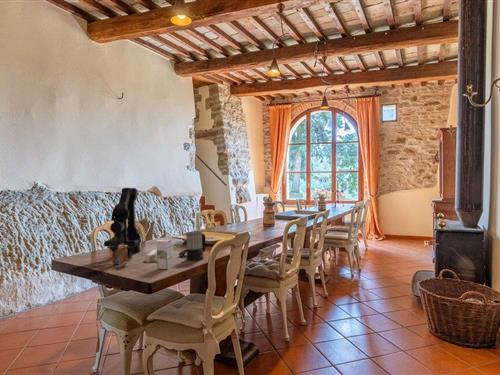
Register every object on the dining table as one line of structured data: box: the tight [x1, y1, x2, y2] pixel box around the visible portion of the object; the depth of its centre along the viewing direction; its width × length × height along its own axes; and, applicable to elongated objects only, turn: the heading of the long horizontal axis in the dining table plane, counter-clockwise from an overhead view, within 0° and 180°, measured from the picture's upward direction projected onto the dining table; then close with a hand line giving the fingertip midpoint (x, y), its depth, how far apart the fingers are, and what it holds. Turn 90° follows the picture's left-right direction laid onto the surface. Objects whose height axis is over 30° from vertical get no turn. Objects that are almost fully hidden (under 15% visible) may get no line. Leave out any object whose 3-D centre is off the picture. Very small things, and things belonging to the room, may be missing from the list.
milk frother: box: [178, 230, 206, 262], centre depth 196 cm, size 14×16×15 cm
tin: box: [111, 245, 134, 266], centre depth 190 cm, size 15×3×8 cm, turn 163°
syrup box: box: [155, 238, 173, 270], centre depth 175 cm, size 6×6×14 cm
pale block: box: [144, 246, 175, 263], centre depth 200 cm, size 10×20×4 cm, turn 176°
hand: (122, 258), depth 190 cm, fingers open, 7 cm apart
